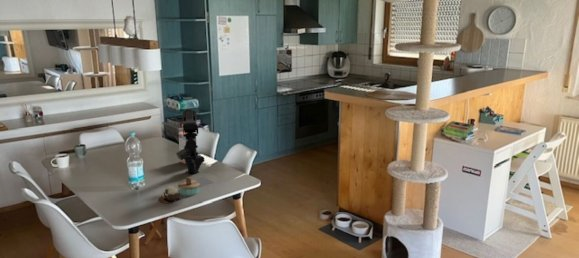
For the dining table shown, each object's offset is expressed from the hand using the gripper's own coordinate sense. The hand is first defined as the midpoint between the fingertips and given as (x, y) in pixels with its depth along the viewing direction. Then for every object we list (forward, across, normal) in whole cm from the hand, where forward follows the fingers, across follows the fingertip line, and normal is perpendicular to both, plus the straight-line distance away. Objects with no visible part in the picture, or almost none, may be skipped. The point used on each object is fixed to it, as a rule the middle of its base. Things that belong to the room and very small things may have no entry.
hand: (192, 170), depth 249 cm
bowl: (+11, +3, -4) cm, 13 cm away
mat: (+12, -5, +8) cm, 15 cm away
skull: (+12, +5, -17) cm, 21 cm away
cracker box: (+13, -40, +19) cm, 46 cm away
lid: (+7, +3, -4) cm, 9 cm away
